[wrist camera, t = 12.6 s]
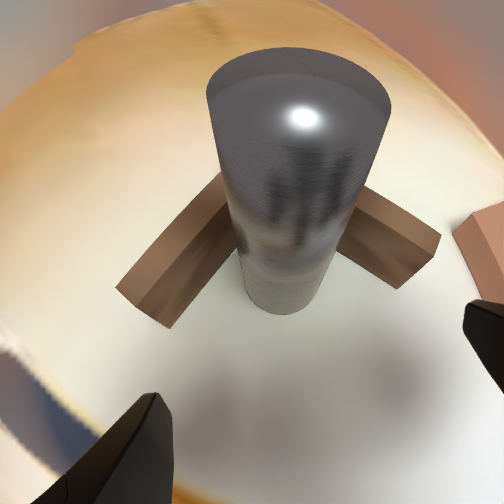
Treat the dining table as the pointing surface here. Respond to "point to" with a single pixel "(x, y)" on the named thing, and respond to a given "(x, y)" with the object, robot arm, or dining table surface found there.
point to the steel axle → (293, 162)
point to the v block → (223, 244)
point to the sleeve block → (485, 250)
